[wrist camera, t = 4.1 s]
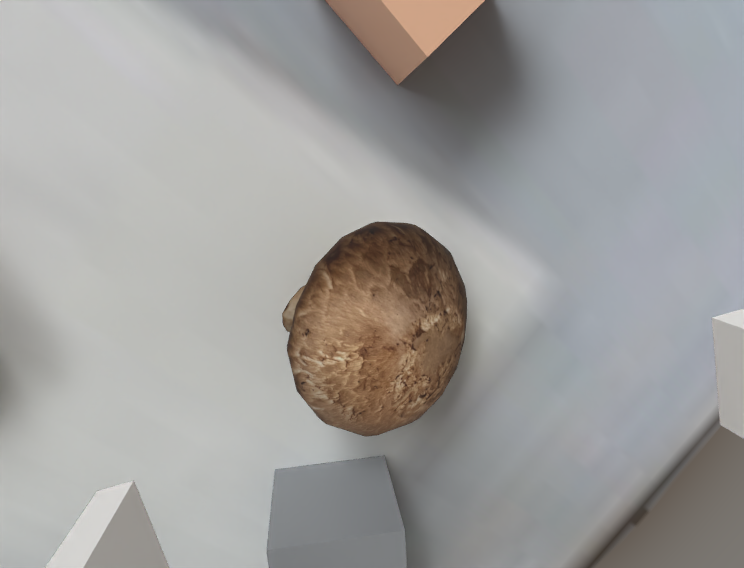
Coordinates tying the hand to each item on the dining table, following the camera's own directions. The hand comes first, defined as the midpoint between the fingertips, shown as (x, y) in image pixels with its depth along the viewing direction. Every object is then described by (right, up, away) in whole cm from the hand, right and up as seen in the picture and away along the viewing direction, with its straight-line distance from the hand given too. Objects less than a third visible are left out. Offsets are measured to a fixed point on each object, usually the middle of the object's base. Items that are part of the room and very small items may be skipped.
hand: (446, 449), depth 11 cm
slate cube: (-3, -7, +12) cm, 15 cm away
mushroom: (-2, +3, +11) cm, 11 cm away
